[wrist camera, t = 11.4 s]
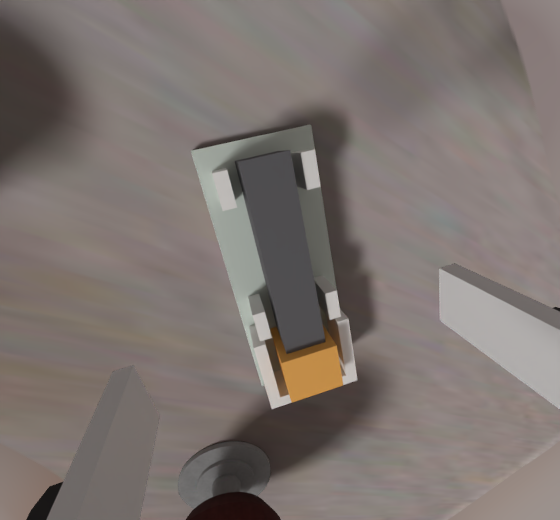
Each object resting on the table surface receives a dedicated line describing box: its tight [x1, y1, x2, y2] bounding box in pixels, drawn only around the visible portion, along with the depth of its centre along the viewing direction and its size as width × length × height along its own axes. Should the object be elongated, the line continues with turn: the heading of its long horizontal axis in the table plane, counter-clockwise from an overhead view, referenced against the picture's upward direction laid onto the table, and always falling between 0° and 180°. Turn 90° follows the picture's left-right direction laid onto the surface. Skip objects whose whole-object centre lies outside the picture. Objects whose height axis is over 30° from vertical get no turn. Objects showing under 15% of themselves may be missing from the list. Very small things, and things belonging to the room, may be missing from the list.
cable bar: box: [235, 150, 343, 403], centre depth 28 cm, size 23×6×6 cm, turn 12°
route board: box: [191, 124, 357, 409], centre depth 30 cm, size 27×11×5 cm, turn 12°
